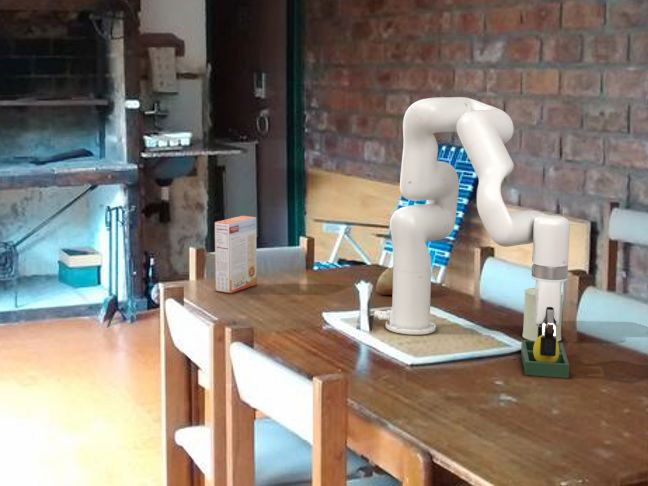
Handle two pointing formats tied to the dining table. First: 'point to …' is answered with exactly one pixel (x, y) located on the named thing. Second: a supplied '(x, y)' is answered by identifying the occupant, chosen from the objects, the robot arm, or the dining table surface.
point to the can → (529, 324)
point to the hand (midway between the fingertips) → (546, 349)
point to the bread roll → (385, 282)
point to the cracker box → (235, 254)
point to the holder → (544, 368)
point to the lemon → (544, 358)
